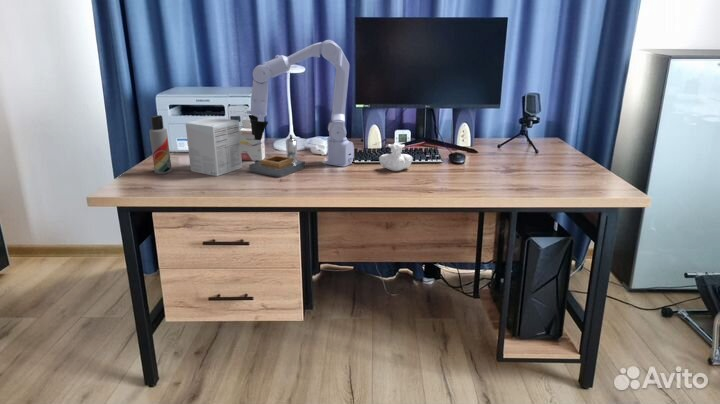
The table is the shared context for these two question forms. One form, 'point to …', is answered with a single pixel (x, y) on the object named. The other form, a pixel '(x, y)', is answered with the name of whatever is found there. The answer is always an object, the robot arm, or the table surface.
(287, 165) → the gray plate with frame
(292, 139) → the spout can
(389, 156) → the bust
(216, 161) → the supplement box
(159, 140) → the lotion bottle
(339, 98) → the robot arm
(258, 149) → the ink cartridge box
